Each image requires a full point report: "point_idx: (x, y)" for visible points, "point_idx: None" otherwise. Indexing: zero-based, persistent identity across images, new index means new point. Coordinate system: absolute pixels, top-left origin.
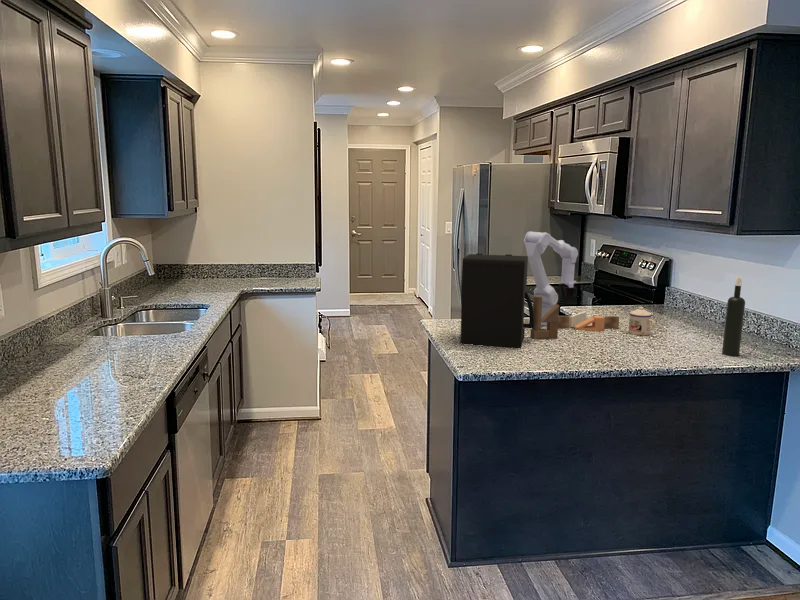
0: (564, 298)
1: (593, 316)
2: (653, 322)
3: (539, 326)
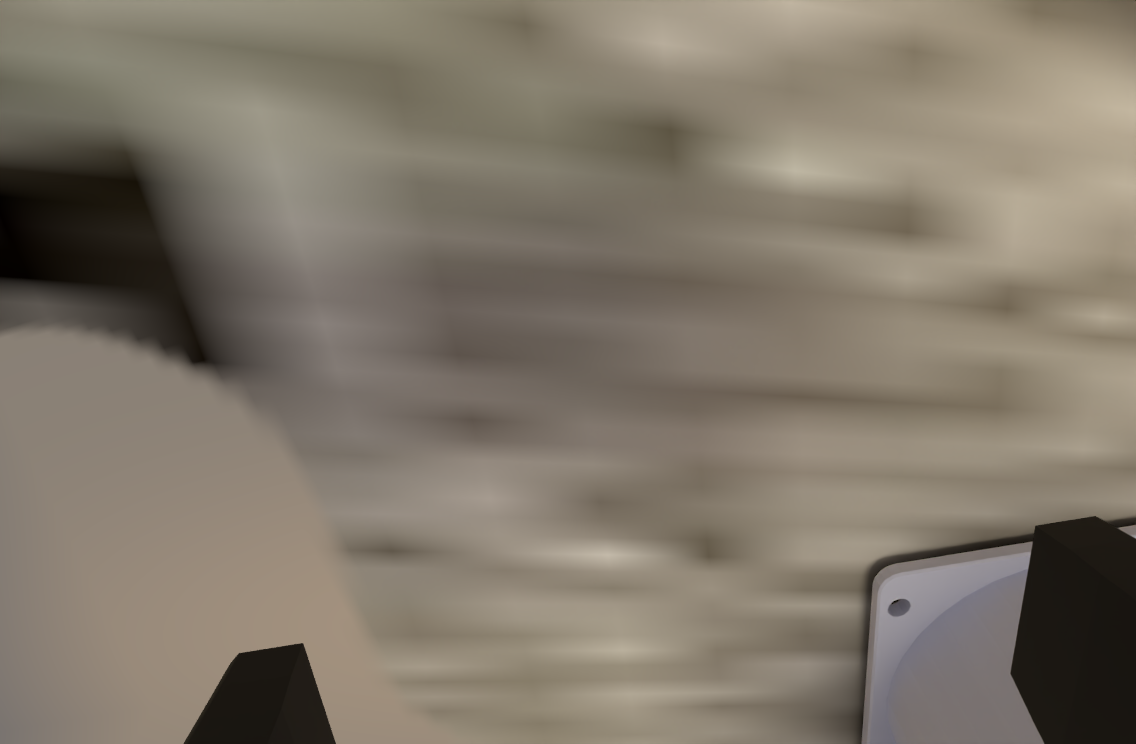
0: (325, 730)
1: None
2: None
3: None
